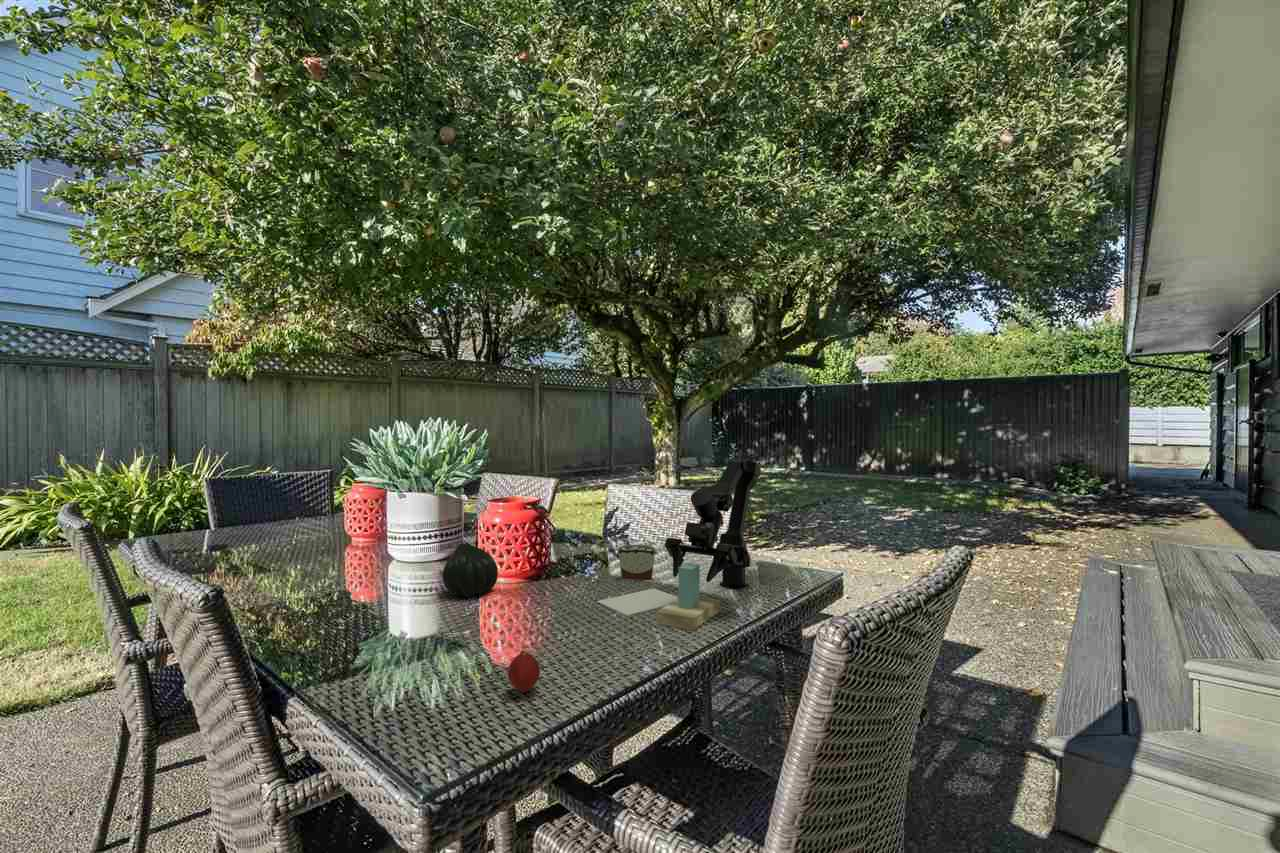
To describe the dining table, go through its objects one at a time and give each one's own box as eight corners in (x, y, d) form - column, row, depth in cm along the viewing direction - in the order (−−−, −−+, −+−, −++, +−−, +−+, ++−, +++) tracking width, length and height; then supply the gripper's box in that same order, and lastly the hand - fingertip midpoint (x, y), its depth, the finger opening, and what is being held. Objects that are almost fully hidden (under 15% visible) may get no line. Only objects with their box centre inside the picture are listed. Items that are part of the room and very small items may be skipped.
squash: (511, 576, 172) (491, 531, 179) (463, 588, 162) (443, 541, 168) (493, 600, 180) (474, 557, 187) (445, 614, 170) (427, 568, 176)
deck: (684, 605, 163) (684, 594, 163) (719, 611, 159) (719, 600, 158) (656, 623, 149) (656, 611, 149) (694, 630, 145) (694, 618, 144)
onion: (510, 685, 115) (510, 643, 115) (541, 684, 116) (540, 642, 116) (506, 699, 110) (506, 655, 109) (538, 698, 110) (538, 654, 110)
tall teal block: (686, 601, 157) (687, 563, 157) (699, 603, 155) (699, 564, 155) (678, 607, 153) (678, 567, 152) (691, 609, 151) (691, 569, 151)
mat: (653, 589, 178) (653, 588, 178) (686, 601, 167) (686, 600, 167) (596, 602, 166) (596, 601, 166) (627, 616, 155) (627, 614, 155)
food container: (657, 576, 193) (658, 544, 193) (656, 581, 187) (656, 548, 187) (619, 574, 194) (619, 543, 194) (616, 580, 188) (616, 547, 188)
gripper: (667, 507, 164) (647, 556, 154) (733, 513, 154) (716, 565, 145) (680, 532, 170) (661, 580, 161) (743, 539, 161) (728, 590, 152)
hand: (690, 578), depth 155 cm, fingers open, 9 cm apart
